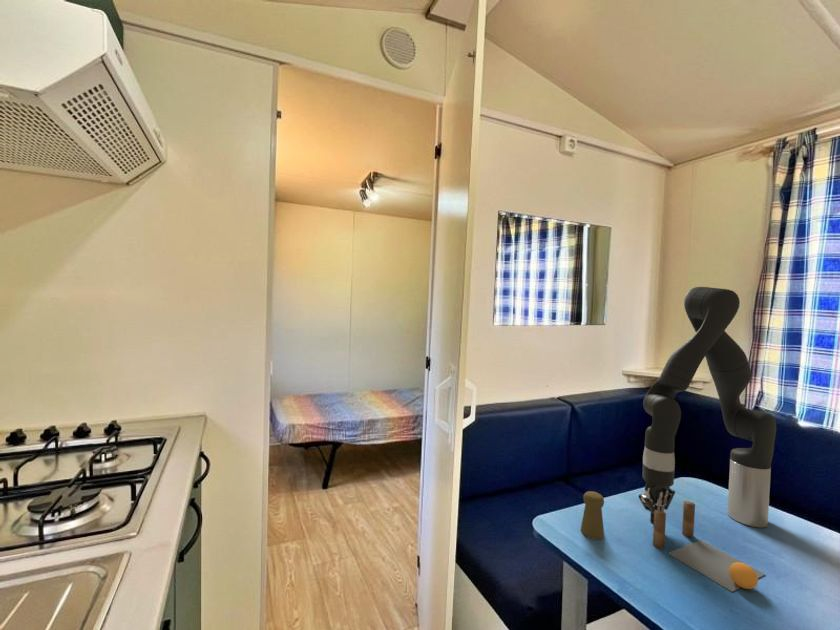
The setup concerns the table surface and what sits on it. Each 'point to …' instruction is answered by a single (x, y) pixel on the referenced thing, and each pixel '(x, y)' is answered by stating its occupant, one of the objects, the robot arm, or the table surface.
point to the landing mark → (710, 563)
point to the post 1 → (659, 529)
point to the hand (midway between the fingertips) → (655, 524)
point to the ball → (743, 575)
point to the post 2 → (688, 519)
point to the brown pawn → (593, 516)
